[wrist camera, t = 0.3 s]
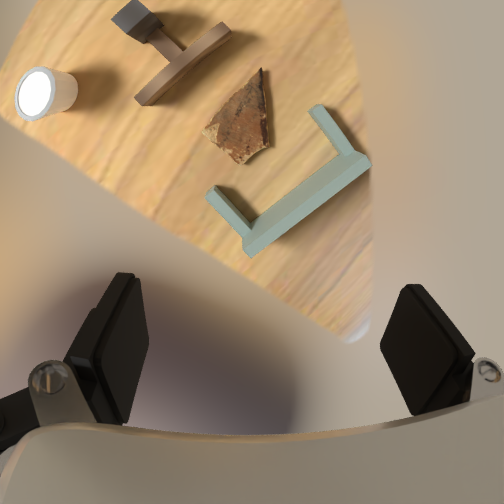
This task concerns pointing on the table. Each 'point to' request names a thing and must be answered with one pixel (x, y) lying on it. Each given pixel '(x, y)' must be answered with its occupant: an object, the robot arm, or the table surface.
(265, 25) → the table surface
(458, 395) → the robot arm
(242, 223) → the bracket
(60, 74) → the shot glass
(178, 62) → the wall doorstop
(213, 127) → the shard
